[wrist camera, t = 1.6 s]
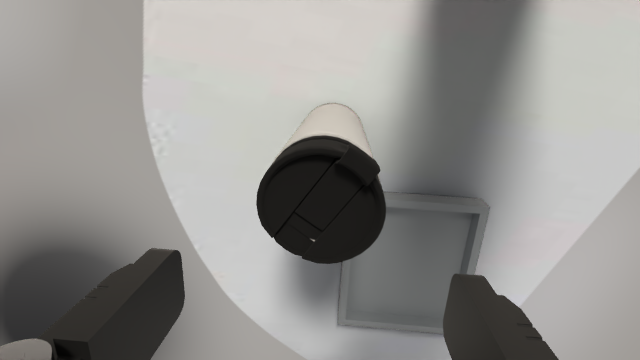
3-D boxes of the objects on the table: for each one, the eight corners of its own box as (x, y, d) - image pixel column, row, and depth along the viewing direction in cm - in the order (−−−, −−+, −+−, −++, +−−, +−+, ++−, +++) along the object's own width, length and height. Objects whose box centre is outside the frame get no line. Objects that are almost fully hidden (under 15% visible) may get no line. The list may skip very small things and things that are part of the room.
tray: (348, 189, 36) (348, 196, 34) (481, 198, 35) (489, 206, 33) (338, 311, 41) (338, 324, 39) (454, 321, 40) (460, 335, 38)
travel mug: (378, 125, 33) (423, 199, 14) (338, 174, 35) (332, 297, 16) (328, 86, 33) (307, 111, 14) (290, 139, 34) (225, 226, 16)
